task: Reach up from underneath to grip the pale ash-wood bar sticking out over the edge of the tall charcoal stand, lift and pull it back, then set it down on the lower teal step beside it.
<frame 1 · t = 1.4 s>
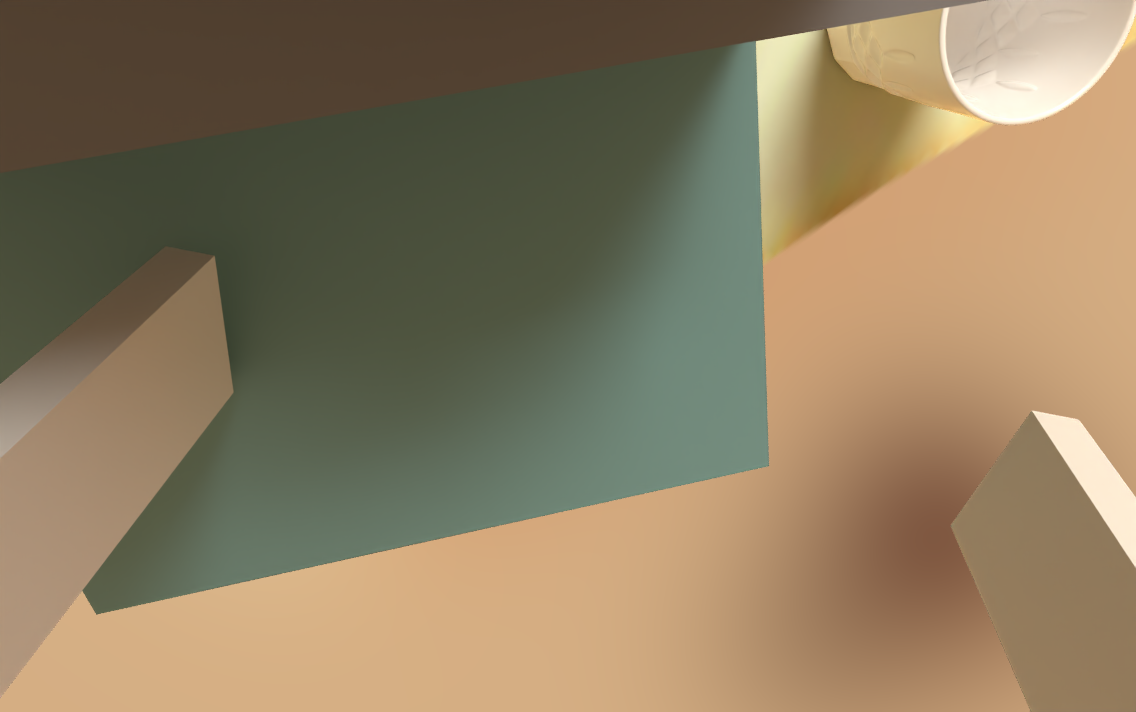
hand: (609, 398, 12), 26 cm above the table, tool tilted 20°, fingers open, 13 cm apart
white cup: (888, 12, 36), on the table
stand: (397, 35, 33), on the table
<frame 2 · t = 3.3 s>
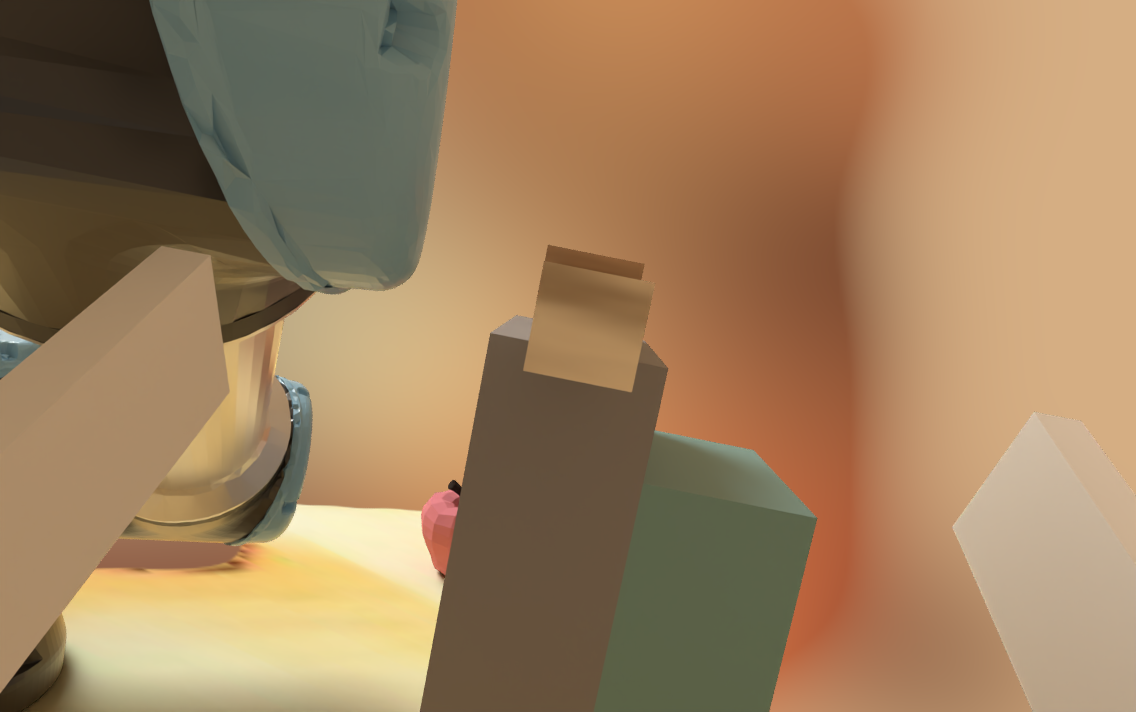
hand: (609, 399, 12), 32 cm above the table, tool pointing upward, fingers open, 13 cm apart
wooden bar: (579, 347, 38), point 30 cm above the table, touching stand
apple: (455, 573, 78), on the table
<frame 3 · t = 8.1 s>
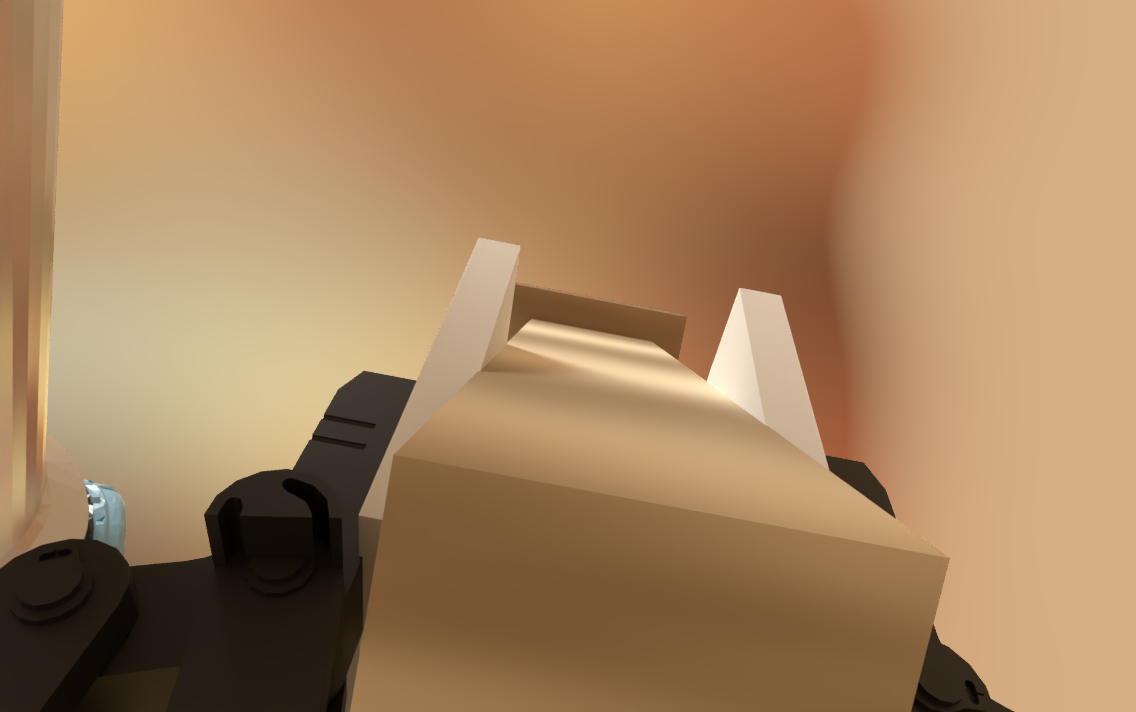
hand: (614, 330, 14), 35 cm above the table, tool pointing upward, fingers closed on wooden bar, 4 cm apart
wooden bar: (568, 519, 17), point 30 cm above the table, touching gripper, stand
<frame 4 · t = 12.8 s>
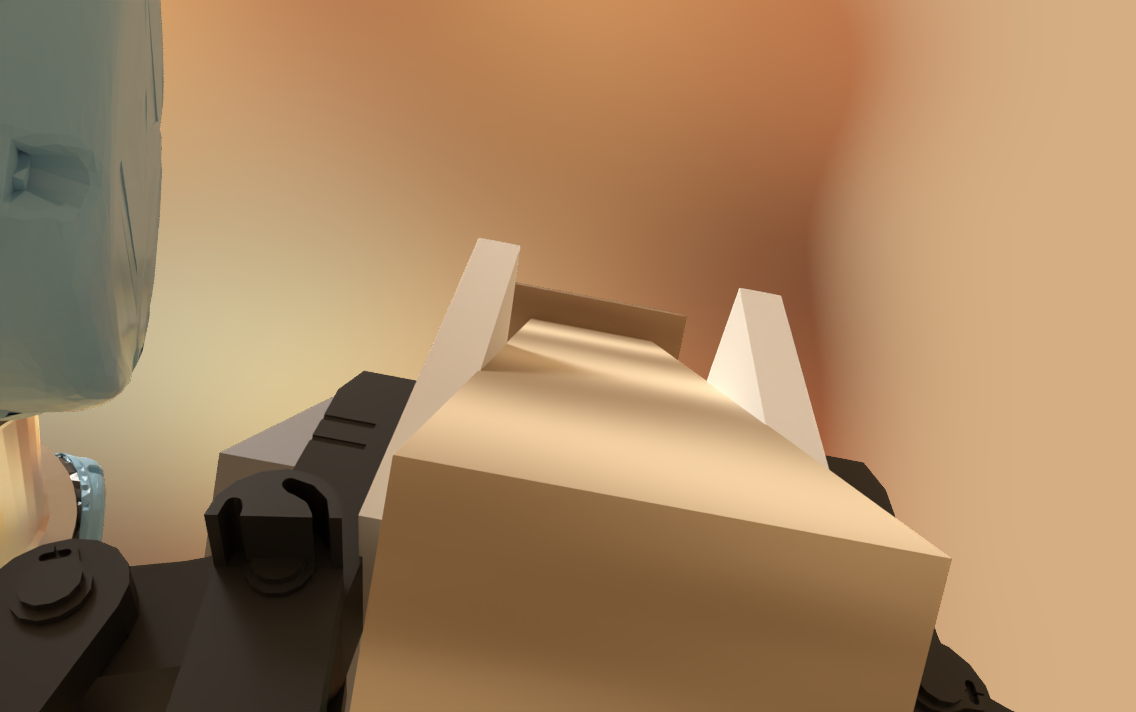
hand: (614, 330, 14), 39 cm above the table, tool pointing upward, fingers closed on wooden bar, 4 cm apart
wooden bar: (568, 519, 17), point 34 cm above the table, touching gripper
when the fingers open (30 cm above the table, at t = 17.6 s): wooden bar drops 1 cm, resting on stand.
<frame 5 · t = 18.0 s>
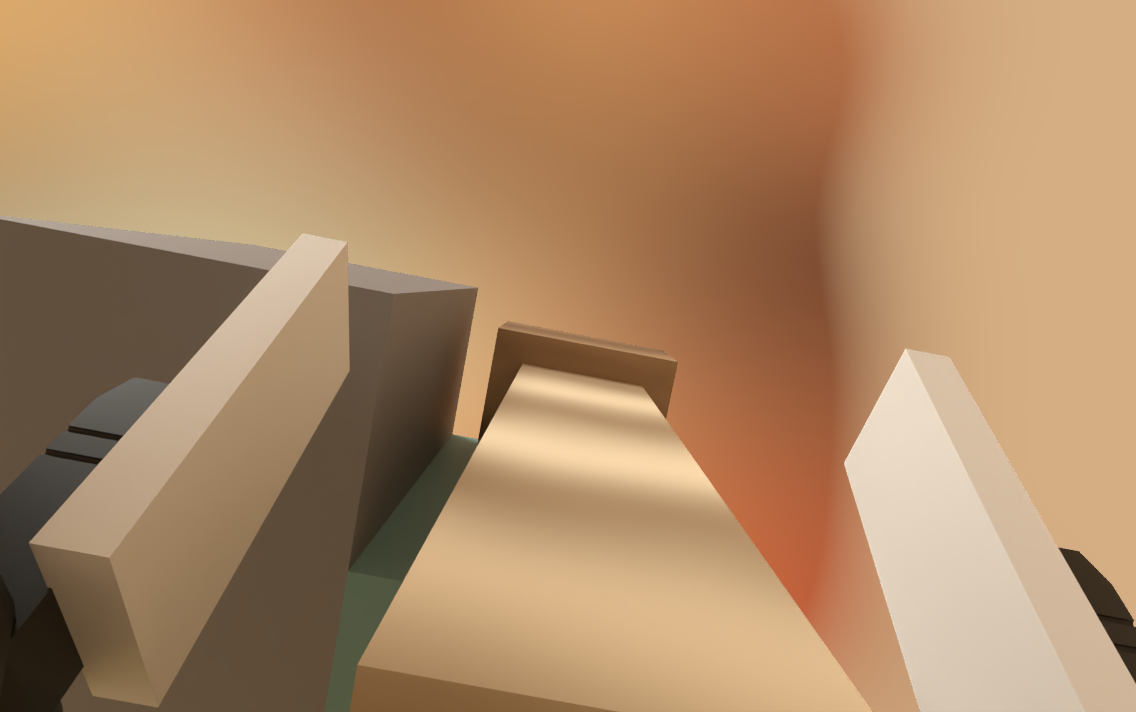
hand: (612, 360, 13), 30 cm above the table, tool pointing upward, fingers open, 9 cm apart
wooden bar: (556, 582, 17), point 24 cm above the table, touching stand
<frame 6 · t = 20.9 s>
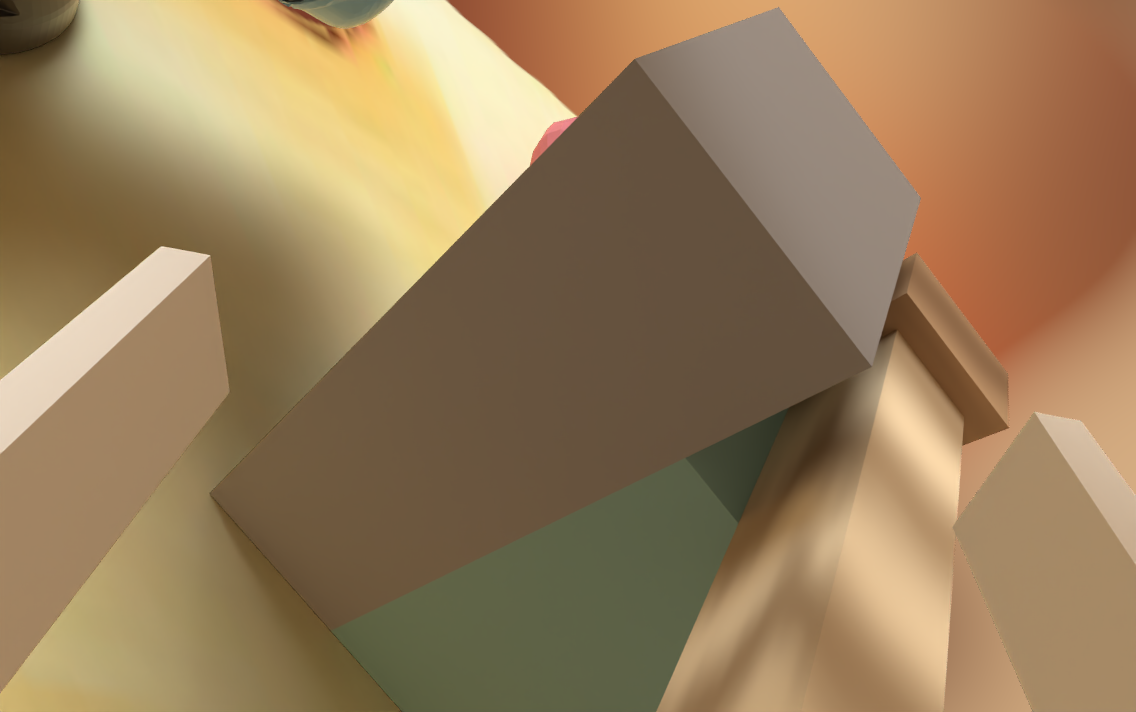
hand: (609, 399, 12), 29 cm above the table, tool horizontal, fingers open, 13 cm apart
wooden bar: (790, 544, 22), point 24 cm above the table, touching stand
stand: (417, 540, 42), on the table
apple: (542, 211, 65), on the table
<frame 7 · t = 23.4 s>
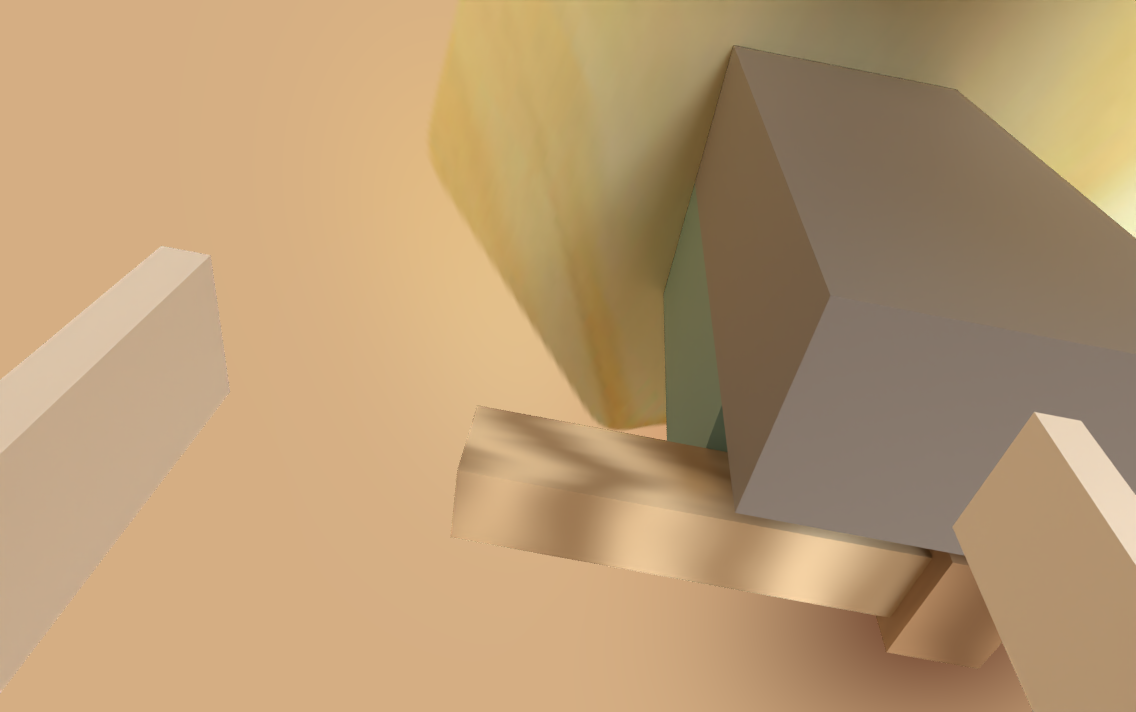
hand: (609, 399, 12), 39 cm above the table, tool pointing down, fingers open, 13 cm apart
wooden bar: (723, 485, 33), point 24 cm above the table, touching stand
stand: (795, 202, 50), on the table
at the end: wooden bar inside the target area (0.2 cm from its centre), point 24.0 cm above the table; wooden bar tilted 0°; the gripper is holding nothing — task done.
